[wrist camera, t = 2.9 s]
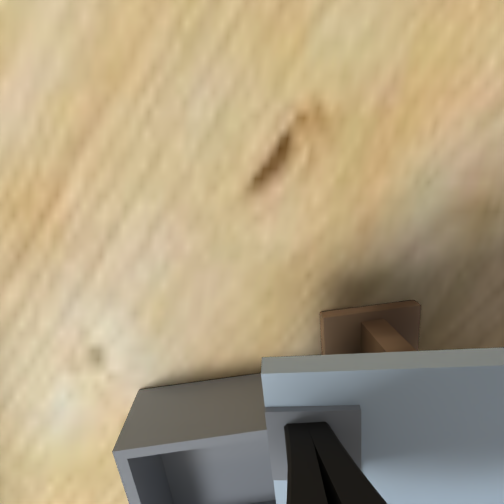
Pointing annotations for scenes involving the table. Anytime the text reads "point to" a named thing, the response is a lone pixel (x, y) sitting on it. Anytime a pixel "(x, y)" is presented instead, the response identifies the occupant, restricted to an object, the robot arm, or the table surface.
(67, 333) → the table surface
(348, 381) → the light blue flat piece
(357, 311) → the stand
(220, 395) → the grey open box
